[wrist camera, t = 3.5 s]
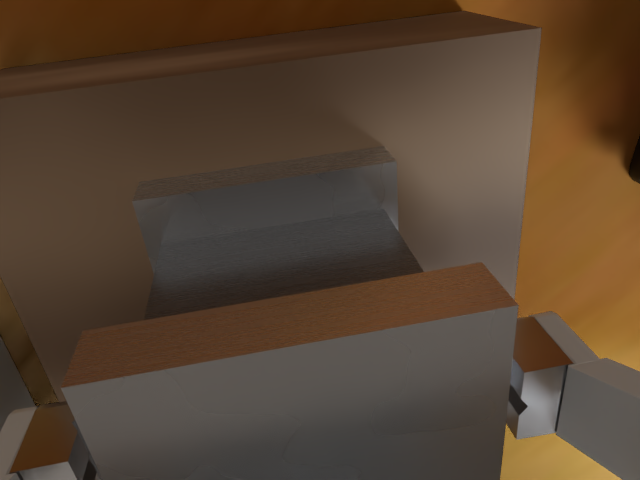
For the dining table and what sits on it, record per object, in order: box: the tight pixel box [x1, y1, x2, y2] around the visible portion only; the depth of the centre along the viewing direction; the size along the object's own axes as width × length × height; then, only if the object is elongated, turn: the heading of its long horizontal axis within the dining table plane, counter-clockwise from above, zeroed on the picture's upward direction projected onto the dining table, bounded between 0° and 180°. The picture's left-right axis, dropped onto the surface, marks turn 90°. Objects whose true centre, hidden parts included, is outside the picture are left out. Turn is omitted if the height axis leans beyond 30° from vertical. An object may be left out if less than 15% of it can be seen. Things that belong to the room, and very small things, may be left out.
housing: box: [61, 146, 518, 480], centre depth 10 cm, size 8×5×6 cm, turn 5°
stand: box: [0, 11, 542, 402], centre depth 15 cm, size 12×12×4 cm
